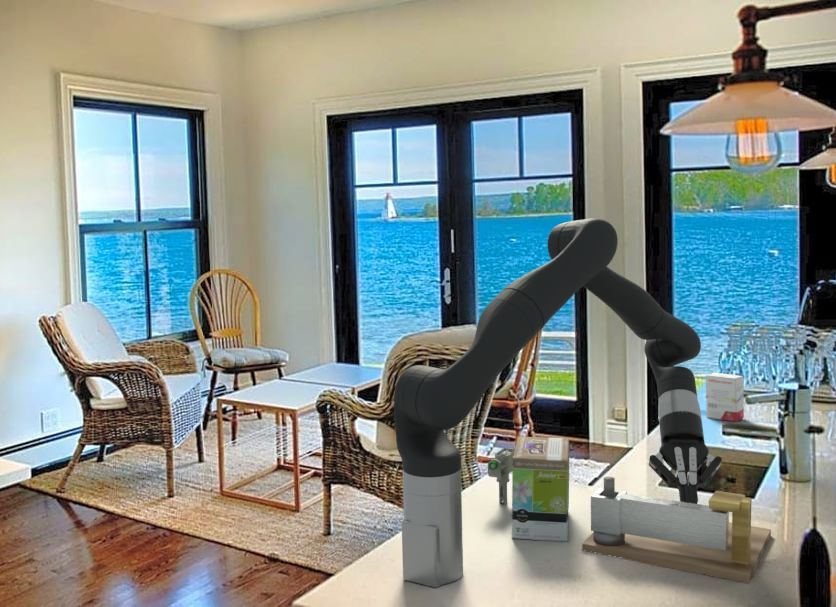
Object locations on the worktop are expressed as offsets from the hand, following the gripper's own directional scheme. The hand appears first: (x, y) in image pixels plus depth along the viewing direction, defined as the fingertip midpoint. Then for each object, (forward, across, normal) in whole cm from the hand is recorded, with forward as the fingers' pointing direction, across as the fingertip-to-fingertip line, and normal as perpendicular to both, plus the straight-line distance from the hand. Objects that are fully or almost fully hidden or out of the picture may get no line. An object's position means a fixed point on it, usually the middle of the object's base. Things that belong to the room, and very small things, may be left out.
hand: (689, 507), depth 144 cm
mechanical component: (-6, -33, +14) cm, 37 cm away
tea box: (+1, -25, +7) cm, 26 cm away
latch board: (+5, -2, +3) cm, 6 cm away
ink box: (-56, +22, +65) cm, 89 cm away
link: (+7, -6, -4) cm, 10 cm away
